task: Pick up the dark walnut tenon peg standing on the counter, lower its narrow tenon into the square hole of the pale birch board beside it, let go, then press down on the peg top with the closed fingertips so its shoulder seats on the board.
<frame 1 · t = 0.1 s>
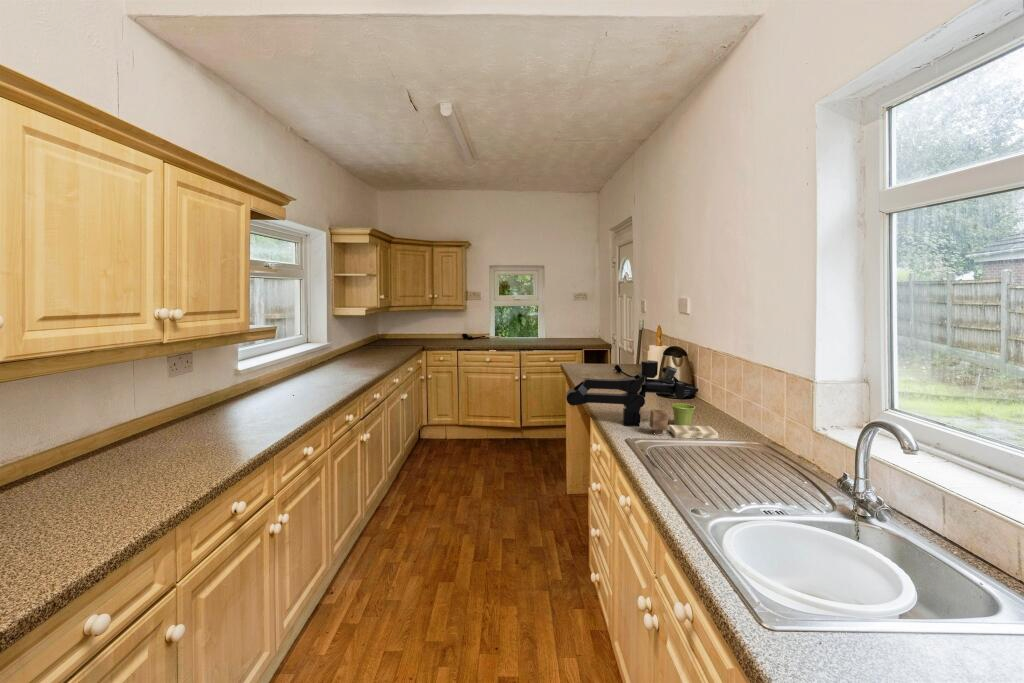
hand: (694, 387, 207), 17 cm above the countertop, tool horizontal, fingers open, 9 cm apart
birch board: (692, 435, 197), on the countertop
plant pot: (682, 426, 209), on the countertop
walnut peg: (657, 433, 197), on the countertop
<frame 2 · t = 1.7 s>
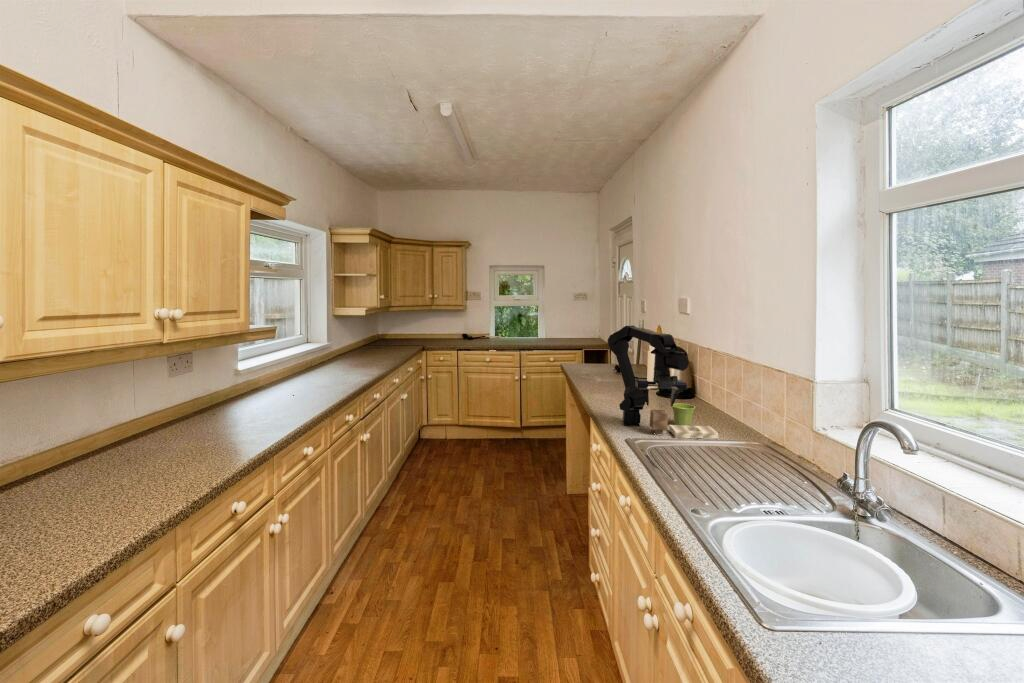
hand: (659, 405, 196), 11 cm above the countertop, tool pointing down, fingers open, 9 cm apart
nothing on the countertop moved.
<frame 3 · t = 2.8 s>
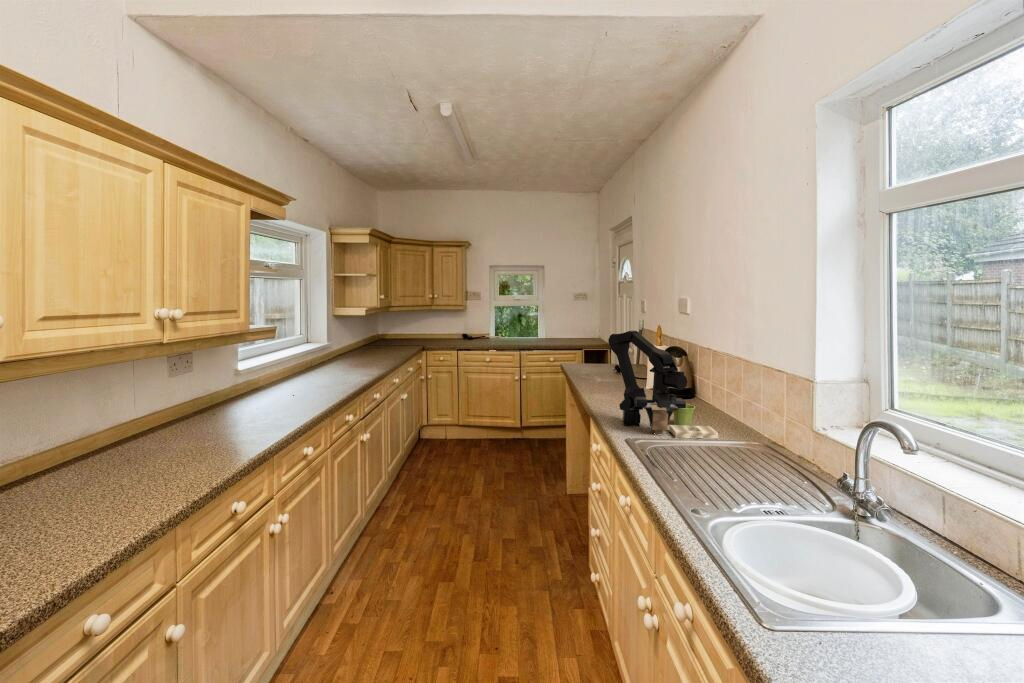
hand: (658, 423, 197), 4 cm above the countertop, tool pointing down, fingers closed on walnut peg, 5 cm apart
walnut peg: (657, 433, 197), on the countertop, touching gripper
everything else where it was.
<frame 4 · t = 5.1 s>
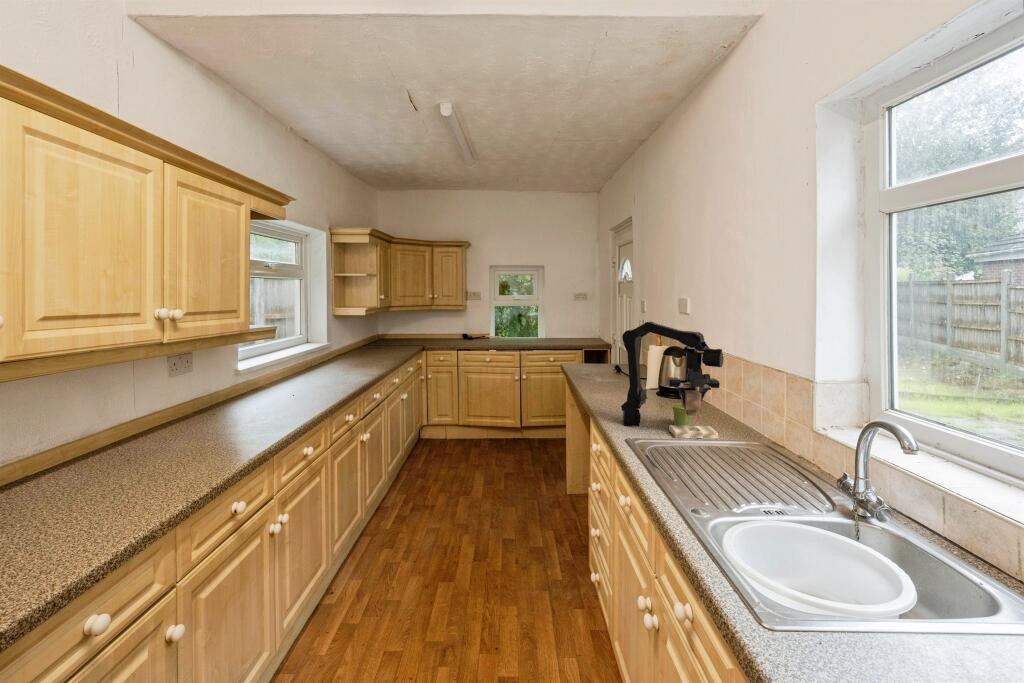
hand: (691, 404, 195), 12 cm above the countertop, tool pointing down, fingers closed on walnut peg, 5 cm apart
walnut peg: (690, 414, 195), point 8 cm above the countertop, touching gripper
everything else where it was.
when the fingers open (5 cm above the countertop, at t = 7.7 s): walnut peg stays where it is, resting on birch board.
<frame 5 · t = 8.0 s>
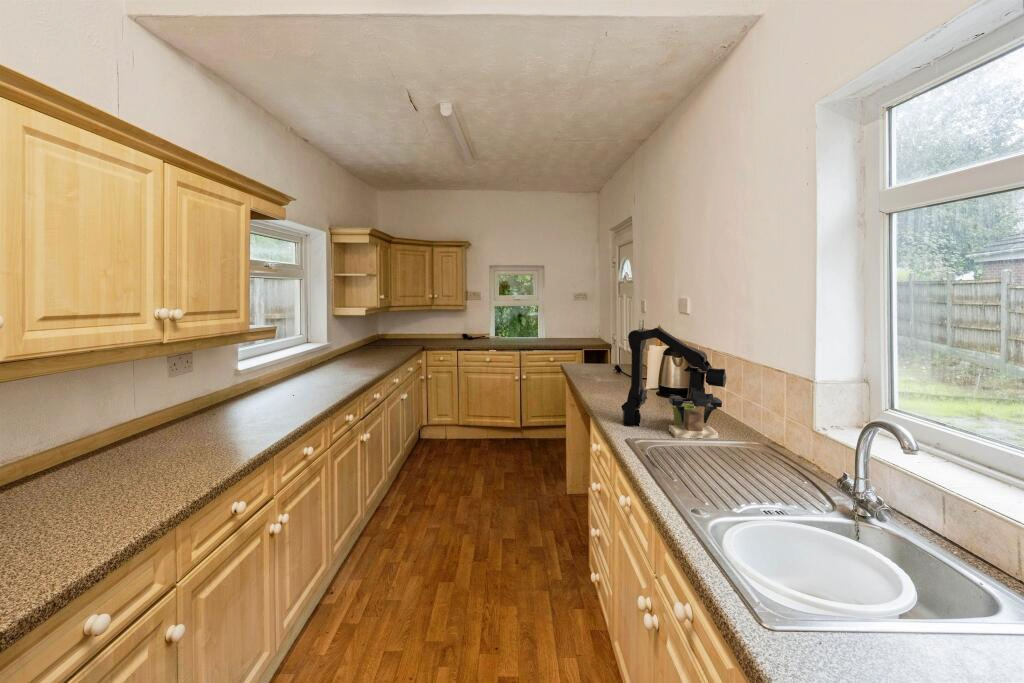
hand: (693, 422, 196), 5 cm above the countertop, tool pointing down, fingers open, 8 cm apart
walnut peg: (692, 435, 197), resting on birch board
everything else where it was.
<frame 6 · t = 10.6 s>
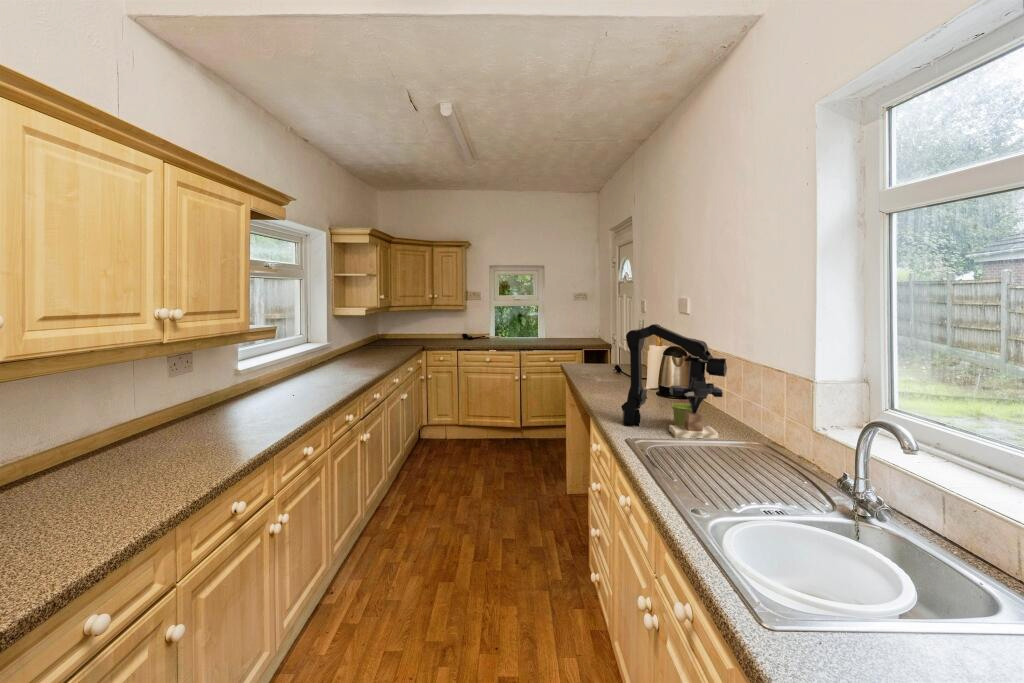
hand: (694, 412, 195), 9 cm above the countertop, tool pointing down, fingers closed, pressing on walnut peg
walnut peg: (692, 435, 197), resting on birch board, touching gripper
everything else where it was.
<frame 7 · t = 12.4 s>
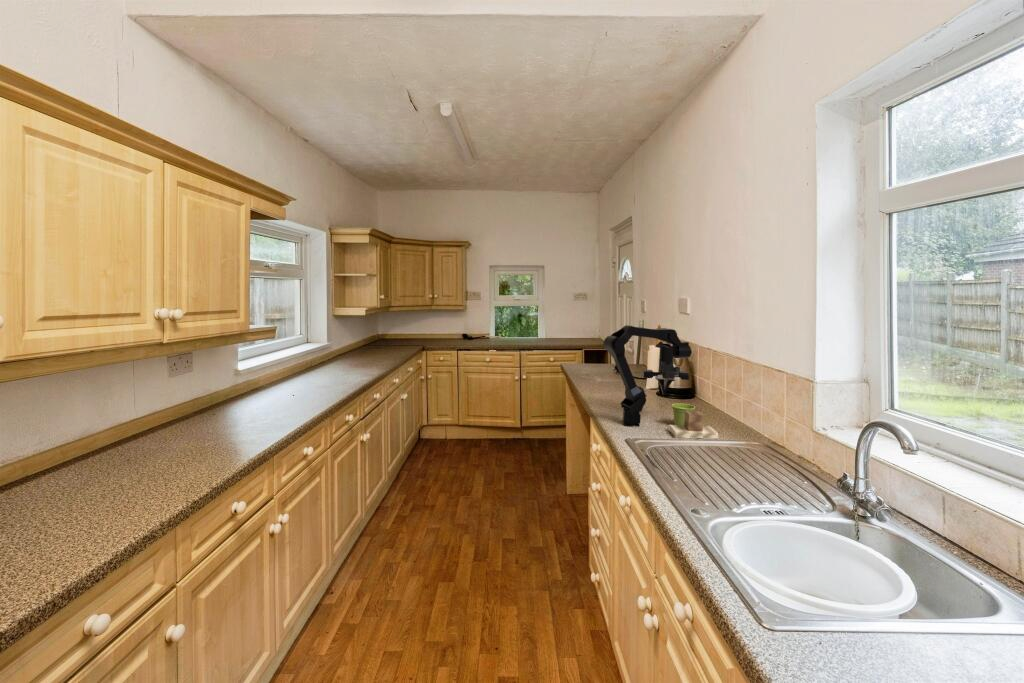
hand: (664, 394, 213), 12 cm above the countertop, tool pointing down, fingers closed
walnut peg: (692, 435, 197), resting on birch board
everything else where it was.
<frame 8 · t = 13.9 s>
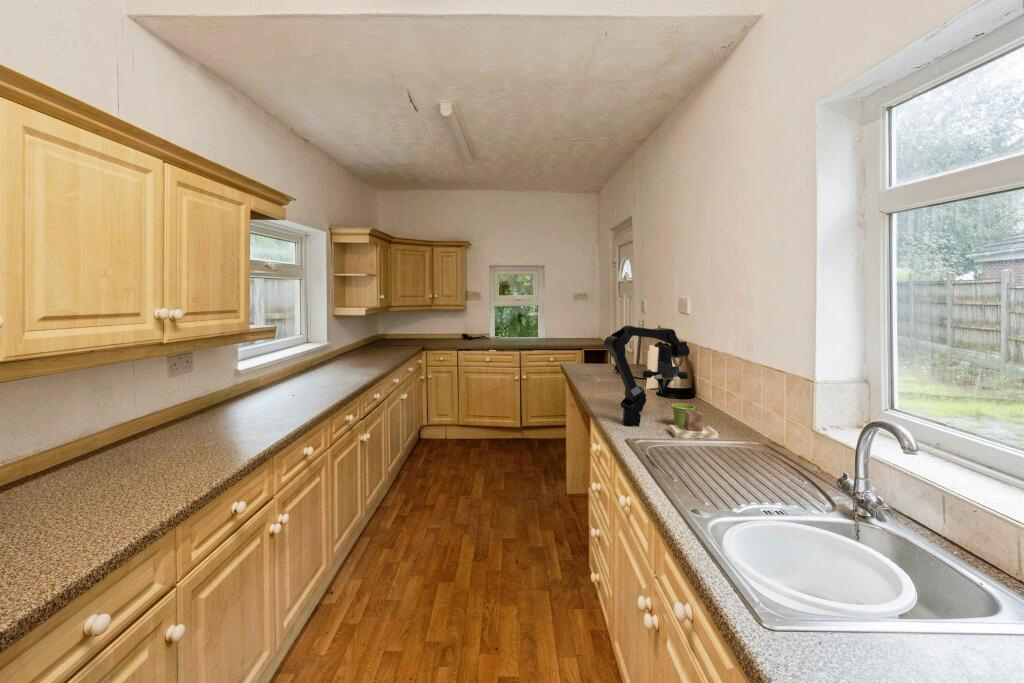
hand: (662, 394, 214), 12 cm above the countertop, tool pointing down, fingers closed
nothing on the countertop moved.
at the end: walnut peg 0.1 cm off-centre on the birch board, point 0.0 cm above the birch board's base; walnut peg tilted 0°; the gripper is holding nothing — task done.
